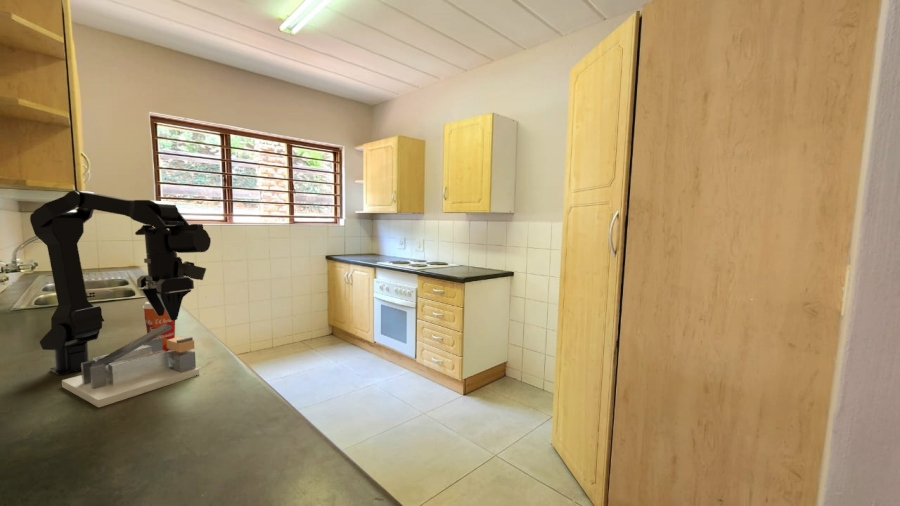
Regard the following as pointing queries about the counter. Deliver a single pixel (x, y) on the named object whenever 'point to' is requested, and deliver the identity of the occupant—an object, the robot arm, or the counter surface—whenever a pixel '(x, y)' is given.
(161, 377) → the board
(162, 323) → the paper cup
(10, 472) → the counter surface
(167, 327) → the grey lever
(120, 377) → the grey piece
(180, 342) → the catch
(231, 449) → the counter surface
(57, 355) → the robot arm
